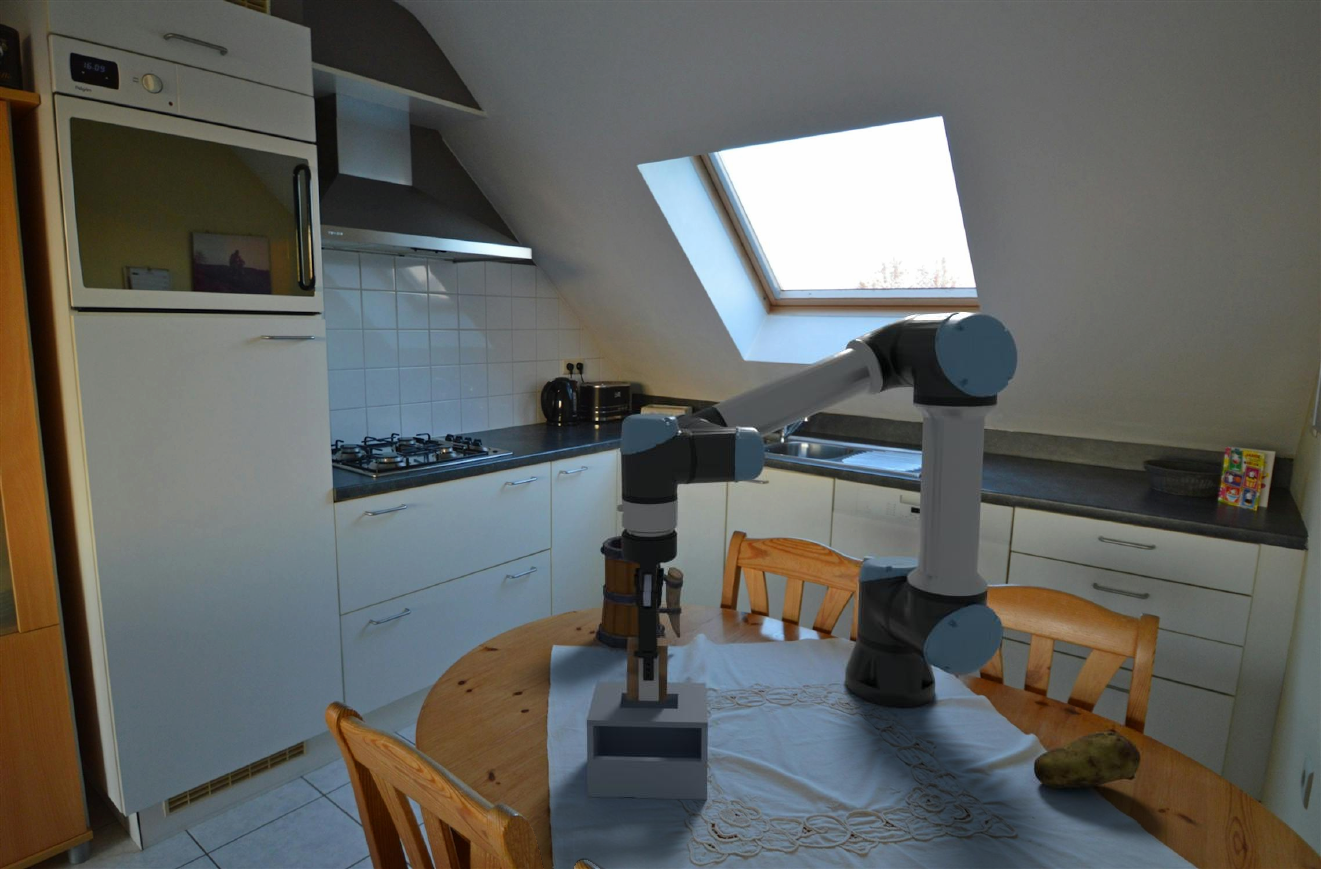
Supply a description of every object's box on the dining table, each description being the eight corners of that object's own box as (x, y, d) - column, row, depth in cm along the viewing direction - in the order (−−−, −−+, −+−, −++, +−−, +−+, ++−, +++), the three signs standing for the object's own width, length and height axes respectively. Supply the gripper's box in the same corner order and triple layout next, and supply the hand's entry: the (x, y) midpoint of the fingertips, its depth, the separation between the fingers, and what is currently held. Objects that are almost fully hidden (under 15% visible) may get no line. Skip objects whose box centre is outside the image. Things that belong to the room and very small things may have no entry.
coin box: (704, 752, 109) (705, 682, 108) (706, 799, 98) (707, 722, 97) (597, 750, 110) (596, 680, 108) (587, 796, 99) (586, 719, 97)
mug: (699, 638, 150) (700, 543, 147) (662, 664, 138) (662, 561, 135) (622, 618, 160) (621, 529, 158) (580, 641, 148) (579, 545, 146)
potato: (1028, 760, 108) (1032, 708, 107) (1130, 780, 103) (1136, 726, 102) (1034, 793, 100) (1038, 738, 99) (1144, 816, 95) (1150, 758, 94)
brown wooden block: (667, 692, 104) (667, 637, 103) (666, 701, 101) (667, 645, 100) (628, 690, 104) (628, 636, 103) (626, 700, 101) (627, 644, 100)
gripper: (626, 514, 107) (626, 667, 110) (615, 545, 92) (617, 722, 95) (677, 515, 107) (677, 668, 110) (676, 546, 91) (675, 723, 95)
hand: (649, 693), depth 102 cm, fingers closed on brown wooden block, 3 cm apart
